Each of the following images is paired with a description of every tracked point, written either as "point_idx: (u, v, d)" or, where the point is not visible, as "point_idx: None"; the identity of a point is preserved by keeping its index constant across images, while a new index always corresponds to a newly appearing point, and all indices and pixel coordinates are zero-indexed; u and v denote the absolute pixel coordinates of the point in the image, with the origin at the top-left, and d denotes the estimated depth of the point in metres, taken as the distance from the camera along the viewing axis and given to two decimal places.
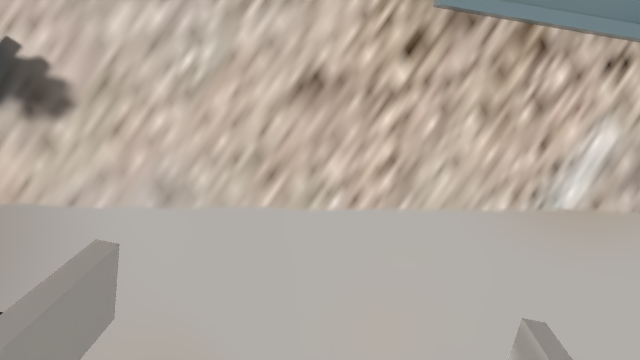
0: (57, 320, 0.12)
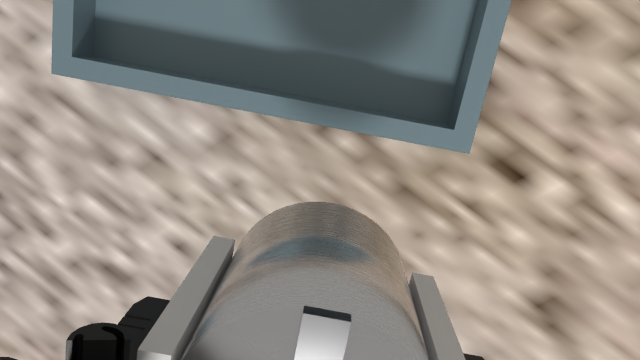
0: (207, 304, 0.14)
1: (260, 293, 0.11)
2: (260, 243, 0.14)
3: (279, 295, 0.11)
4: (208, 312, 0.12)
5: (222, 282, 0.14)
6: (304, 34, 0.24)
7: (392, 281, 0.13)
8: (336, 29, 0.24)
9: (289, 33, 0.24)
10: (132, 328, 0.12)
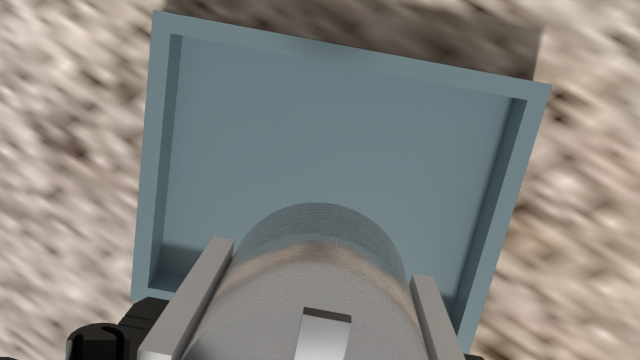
0: (206, 304, 0.14)
1: (260, 294, 0.11)
2: (260, 243, 0.14)
3: (279, 296, 0.11)
4: (207, 313, 0.12)
5: (222, 283, 0.14)
6: None
7: (393, 281, 0.13)
8: None
9: None
10: (132, 328, 0.12)
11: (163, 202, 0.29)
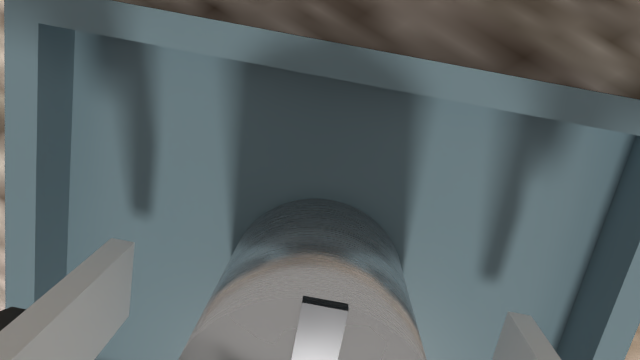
0: (77, 315, 0.12)
1: (261, 284, 0.11)
2: (260, 238, 0.15)
3: (278, 286, 0.11)
4: (210, 304, 0.12)
5: (223, 276, 0.14)
6: None
7: (388, 274, 0.14)
8: None
9: None
10: None
11: None
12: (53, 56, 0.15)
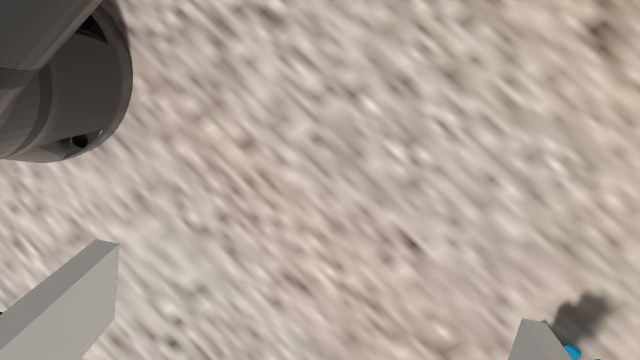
0: (57, 319, 0.12)
1: None
2: None
3: None
4: None
5: None
6: None
7: None
8: None
9: None
10: None
11: None
12: None
